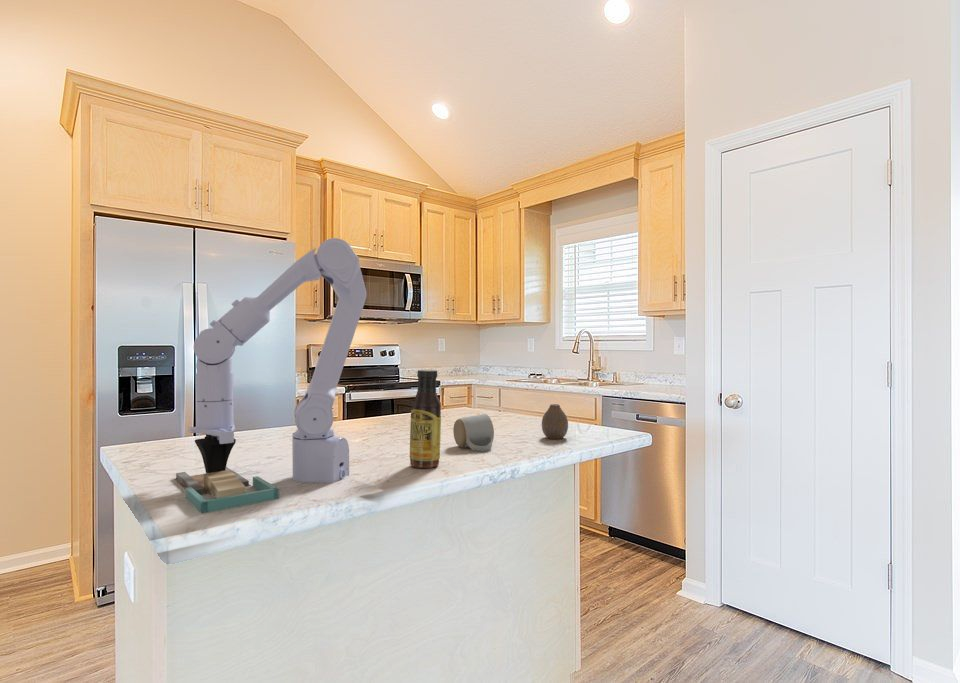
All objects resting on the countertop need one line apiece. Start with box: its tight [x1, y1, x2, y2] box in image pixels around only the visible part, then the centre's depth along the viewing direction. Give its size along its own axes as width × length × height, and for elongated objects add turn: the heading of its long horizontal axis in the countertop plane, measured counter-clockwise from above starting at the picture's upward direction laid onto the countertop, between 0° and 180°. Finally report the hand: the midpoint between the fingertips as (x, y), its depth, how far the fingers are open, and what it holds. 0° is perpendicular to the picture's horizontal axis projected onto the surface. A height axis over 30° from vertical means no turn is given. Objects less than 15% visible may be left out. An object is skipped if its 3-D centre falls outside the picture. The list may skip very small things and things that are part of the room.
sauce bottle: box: [409, 369, 442, 469], centre depth 111 cm, size 7×6×20 cm
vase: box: [541, 403, 569, 440], centre depth 142 cm, size 7×7×9 cm
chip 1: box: [202, 470, 236, 495], centre depth 90 cm, size 4×4×2 cm
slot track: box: [173, 466, 252, 496], centre depth 94 cm, size 14×9×2 cm, turn 40°
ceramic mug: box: [452, 413, 495, 452], centre depth 130 cm, size 11×8×8 cm
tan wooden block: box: [210, 478, 246, 499], centre depth 87 cm, size 4×4×2 cm
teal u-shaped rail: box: [185, 475, 280, 514], centre depth 85 cm, size 10×11×3 cm
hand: (215, 479), depth 92 cm, fingers closed
